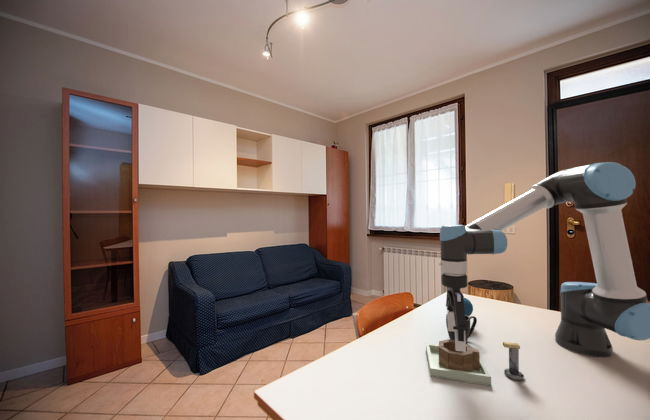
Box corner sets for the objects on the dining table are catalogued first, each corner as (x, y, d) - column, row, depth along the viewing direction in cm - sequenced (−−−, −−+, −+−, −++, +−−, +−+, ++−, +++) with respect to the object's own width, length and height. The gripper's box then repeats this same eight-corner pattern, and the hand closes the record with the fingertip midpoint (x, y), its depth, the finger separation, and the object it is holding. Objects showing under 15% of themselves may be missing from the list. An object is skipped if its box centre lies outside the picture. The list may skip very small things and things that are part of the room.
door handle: (519, 372, 83) (519, 341, 83) (526, 382, 78) (526, 348, 78) (501, 370, 84) (500, 339, 84) (506, 379, 80) (506, 346, 80)
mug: (484, 344, 100) (484, 319, 100) (455, 348, 98) (455, 321, 98) (468, 335, 108) (468, 311, 108) (441, 337, 106) (441, 313, 106)
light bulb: (473, 323, 119) (473, 296, 119) (472, 331, 112) (472, 301, 112) (452, 319, 123) (452, 293, 124) (450, 326, 116) (450, 298, 116)
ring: (477, 361, 88) (477, 344, 88) (481, 377, 79) (481, 358, 79) (439, 353, 93) (439, 337, 93) (438, 368, 84) (438, 350, 84)
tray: (476, 356, 92) (476, 349, 92) (491, 385, 77) (491, 376, 77) (425, 350, 96) (425, 343, 96) (430, 376, 81) (430, 368, 81)
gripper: (436, 265, 100) (438, 323, 100) (447, 282, 76) (450, 359, 76) (458, 265, 98) (460, 325, 97) (477, 284, 74) (480, 362, 73)
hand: (456, 340), depth 86 cm, fingers open, 13 cm apart
